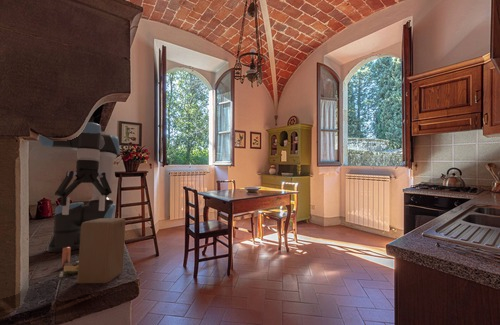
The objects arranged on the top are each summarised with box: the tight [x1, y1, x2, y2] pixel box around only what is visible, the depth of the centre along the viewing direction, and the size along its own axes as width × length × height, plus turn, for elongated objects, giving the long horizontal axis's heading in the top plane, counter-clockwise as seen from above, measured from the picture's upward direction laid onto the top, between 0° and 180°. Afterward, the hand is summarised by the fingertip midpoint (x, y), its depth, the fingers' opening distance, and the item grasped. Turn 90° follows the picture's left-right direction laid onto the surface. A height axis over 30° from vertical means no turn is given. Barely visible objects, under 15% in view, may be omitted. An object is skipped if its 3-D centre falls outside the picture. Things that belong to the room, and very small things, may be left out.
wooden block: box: [76, 217, 126, 284], centre depth 78 cm, size 10×10×20 cm
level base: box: [56, 269, 78, 279], centre depth 82 cm, size 9×9×2 cm
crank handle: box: [61, 247, 79, 274], centre depth 84 cm, size 13×7×7 cm, turn 59°
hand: (84, 212), depth 91 cm, fingers open, 13 cm apart
